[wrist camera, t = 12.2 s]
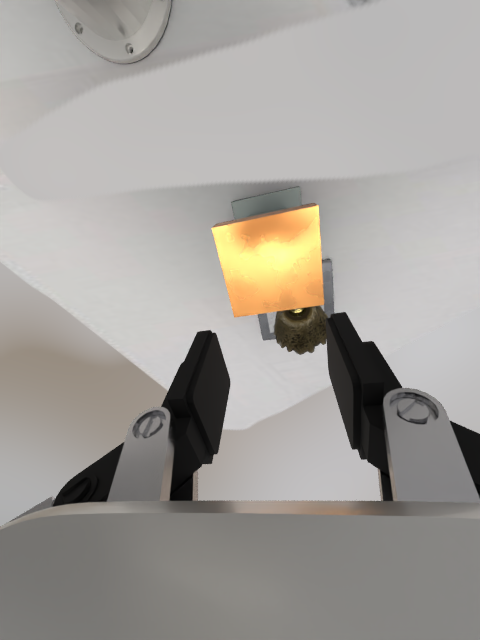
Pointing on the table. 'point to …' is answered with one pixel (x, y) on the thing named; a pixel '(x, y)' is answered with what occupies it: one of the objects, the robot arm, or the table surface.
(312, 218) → the handle
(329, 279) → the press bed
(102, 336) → the table surface
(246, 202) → the press stand
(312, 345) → the wire cup brush
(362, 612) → the robot arm
